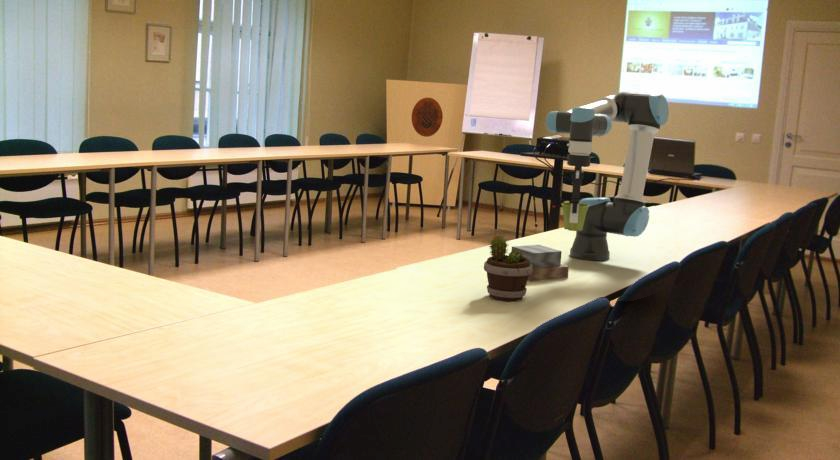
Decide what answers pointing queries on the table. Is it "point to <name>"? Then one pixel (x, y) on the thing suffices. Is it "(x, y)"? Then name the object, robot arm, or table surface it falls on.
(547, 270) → the pedestal
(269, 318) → the table surface
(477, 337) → the table surface
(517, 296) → the flowerpot
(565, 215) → the plant pot
